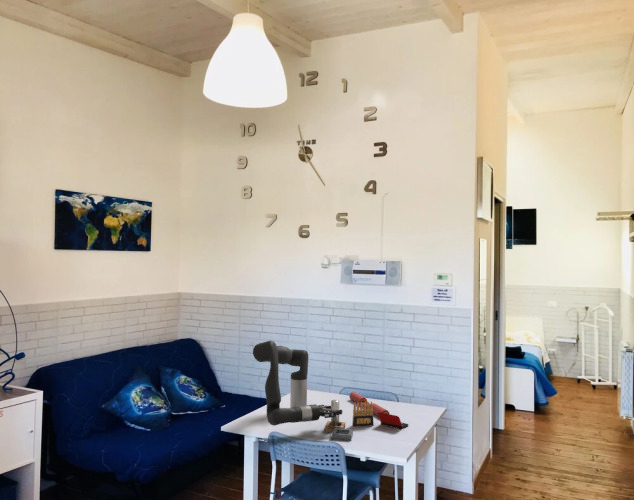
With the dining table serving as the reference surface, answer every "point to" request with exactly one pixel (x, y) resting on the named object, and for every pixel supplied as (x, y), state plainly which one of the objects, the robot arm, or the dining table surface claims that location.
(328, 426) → the walnut socket block
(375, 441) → the dining table surface
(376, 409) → the blood vessel
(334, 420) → the steel axle
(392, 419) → the handheld game console
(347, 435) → the steel bore block
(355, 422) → the ammunition clip
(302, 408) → the robot arm
